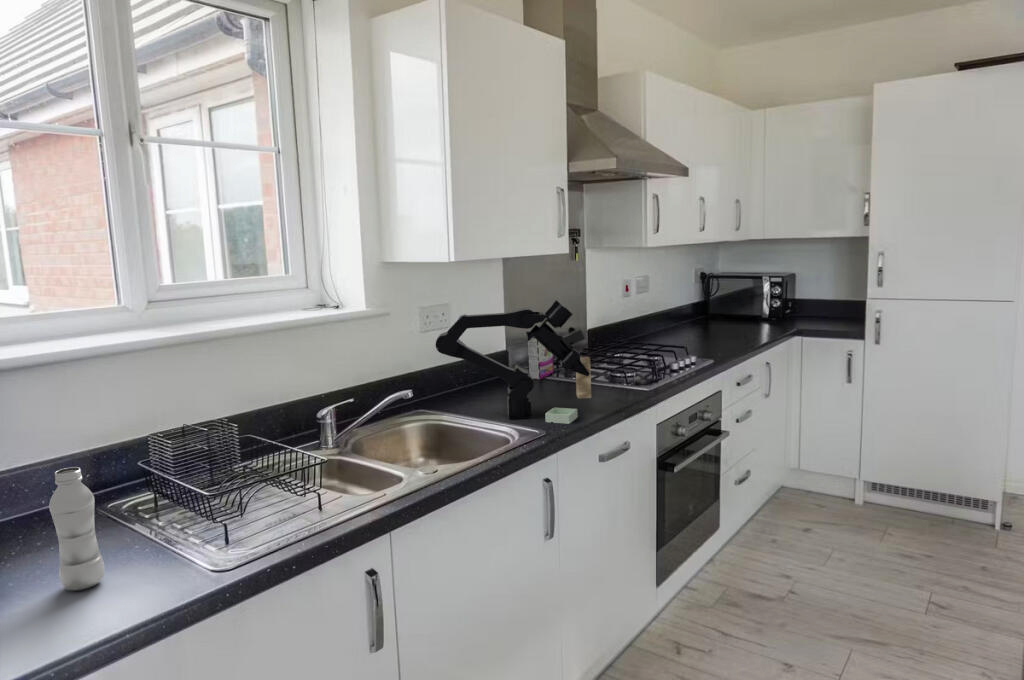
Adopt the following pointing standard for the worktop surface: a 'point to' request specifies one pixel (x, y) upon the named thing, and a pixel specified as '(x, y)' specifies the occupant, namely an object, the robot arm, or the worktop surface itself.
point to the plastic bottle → (75, 531)
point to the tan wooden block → (584, 380)
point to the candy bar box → (539, 360)
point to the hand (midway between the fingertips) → (587, 373)
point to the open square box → (561, 415)
